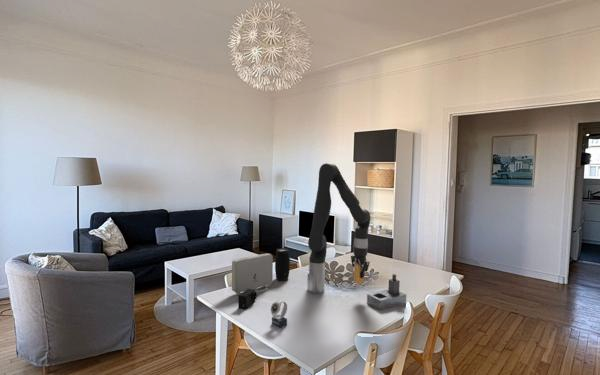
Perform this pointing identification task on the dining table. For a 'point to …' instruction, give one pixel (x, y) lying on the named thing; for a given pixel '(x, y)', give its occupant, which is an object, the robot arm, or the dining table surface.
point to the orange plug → (358, 274)
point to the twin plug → (393, 285)
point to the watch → (279, 319)
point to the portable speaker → (282, 264)
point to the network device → (252, 273)
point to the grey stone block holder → (385, 299)
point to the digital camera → (246, 299)
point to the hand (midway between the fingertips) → (359, 276)
